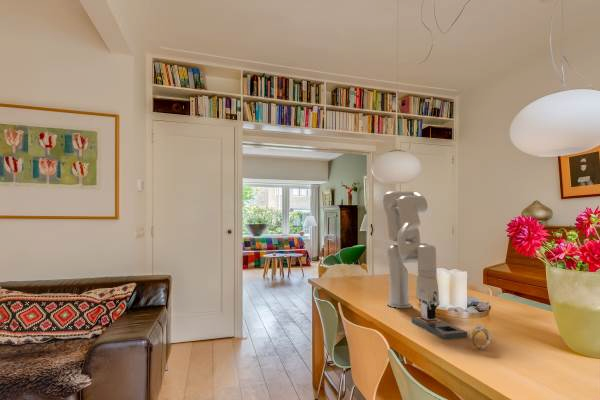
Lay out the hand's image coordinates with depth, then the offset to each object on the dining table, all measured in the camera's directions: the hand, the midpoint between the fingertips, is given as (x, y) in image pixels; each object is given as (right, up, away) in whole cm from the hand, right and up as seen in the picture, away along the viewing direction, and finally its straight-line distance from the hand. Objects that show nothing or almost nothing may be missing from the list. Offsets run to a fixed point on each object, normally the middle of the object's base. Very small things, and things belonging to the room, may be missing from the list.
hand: (428, 316), depth 143 cm
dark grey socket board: (+1, -3, -6) cm, 7 cm away
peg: (0, -2, 0) cm, 2 cm away
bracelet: (+8, -2, -27) cm, 28 cm away
